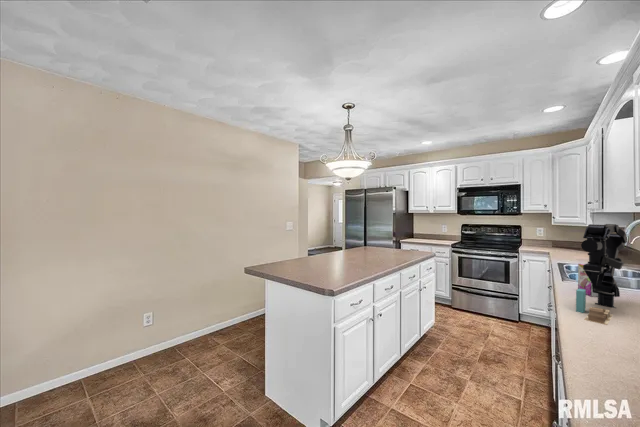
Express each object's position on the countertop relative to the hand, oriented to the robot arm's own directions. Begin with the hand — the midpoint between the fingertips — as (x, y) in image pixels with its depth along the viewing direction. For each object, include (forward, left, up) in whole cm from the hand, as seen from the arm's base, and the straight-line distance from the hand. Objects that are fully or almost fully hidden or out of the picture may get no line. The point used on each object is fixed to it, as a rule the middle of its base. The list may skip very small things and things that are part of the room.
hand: (597, 284), depth 134 cm
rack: (+13, -3, -13) cm, 18 cm away
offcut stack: (+17, -5, -12) cm, 21 cm away
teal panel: (+6, -7, -13) cm, 16 cm away
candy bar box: (-36, +6, -13) cm, 39 cm away
